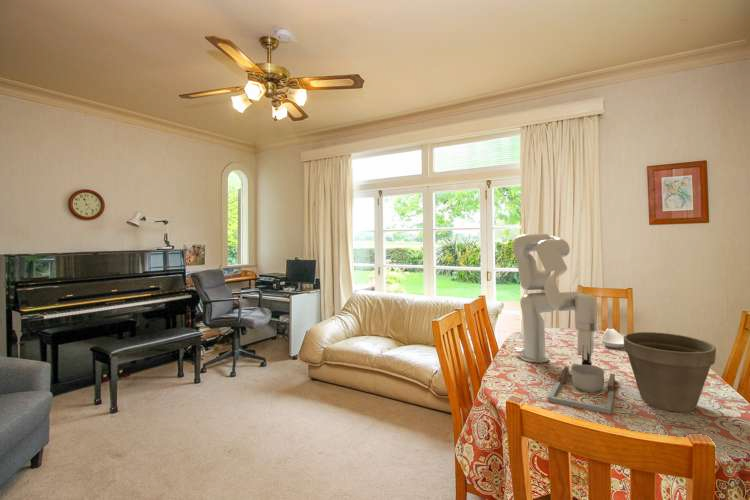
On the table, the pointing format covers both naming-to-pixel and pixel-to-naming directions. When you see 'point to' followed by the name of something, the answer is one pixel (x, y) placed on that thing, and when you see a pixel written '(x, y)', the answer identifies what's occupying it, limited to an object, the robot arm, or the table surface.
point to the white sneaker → (612, 339)
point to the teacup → (588, 377)
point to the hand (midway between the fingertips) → (586, 371)
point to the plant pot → (669, 368)
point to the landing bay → (581, 404)
